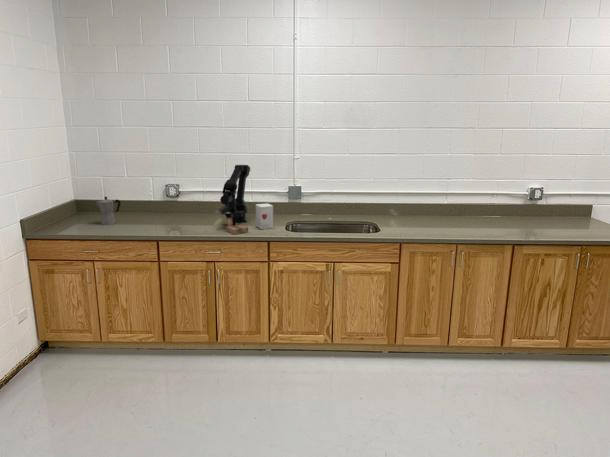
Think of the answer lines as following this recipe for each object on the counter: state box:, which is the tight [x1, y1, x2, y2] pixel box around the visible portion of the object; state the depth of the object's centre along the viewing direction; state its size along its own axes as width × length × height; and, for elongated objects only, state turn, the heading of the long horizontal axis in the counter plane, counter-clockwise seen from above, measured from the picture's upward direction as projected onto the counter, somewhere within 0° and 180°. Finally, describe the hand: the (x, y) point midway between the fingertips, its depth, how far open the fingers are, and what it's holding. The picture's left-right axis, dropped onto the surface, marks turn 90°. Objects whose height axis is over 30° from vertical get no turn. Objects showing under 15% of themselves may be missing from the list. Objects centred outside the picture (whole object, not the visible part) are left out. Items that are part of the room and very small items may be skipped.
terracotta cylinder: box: [227, 217, 237, 226], centre depth 301 cm, size 5×5×6 cm
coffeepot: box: [95, 196, 122, 226], centre depth 305 cm, size 15×9×18 cm, turn 113°
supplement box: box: [255, 203, 274, 230], centre depth 299 cm, size 9×9×15 cm
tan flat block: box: [225, 224, 249, 235], centre depth 289 cm, size 10×10×3 cm
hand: (231, 225), depth 301 cm, fingers open, 6 cm apart
